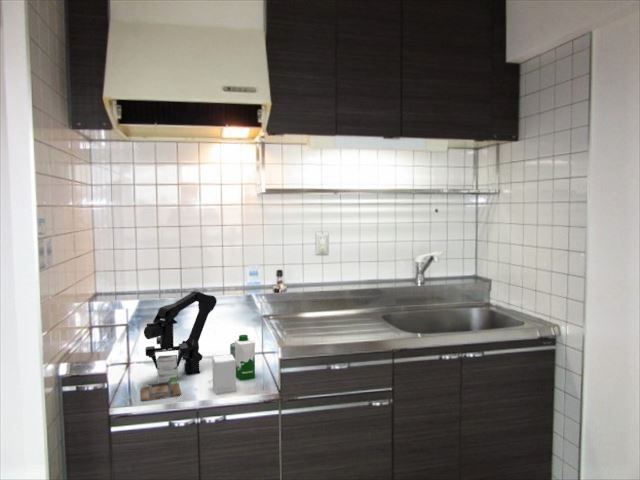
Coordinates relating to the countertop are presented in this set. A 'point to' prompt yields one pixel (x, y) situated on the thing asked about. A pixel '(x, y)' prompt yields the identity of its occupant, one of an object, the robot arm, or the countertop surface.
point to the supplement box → (224, 374)
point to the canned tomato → (232, 349)
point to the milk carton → (245, 358)
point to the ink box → (167, 368)
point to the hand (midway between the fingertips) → (167, 367)
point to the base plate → (160, 391)
